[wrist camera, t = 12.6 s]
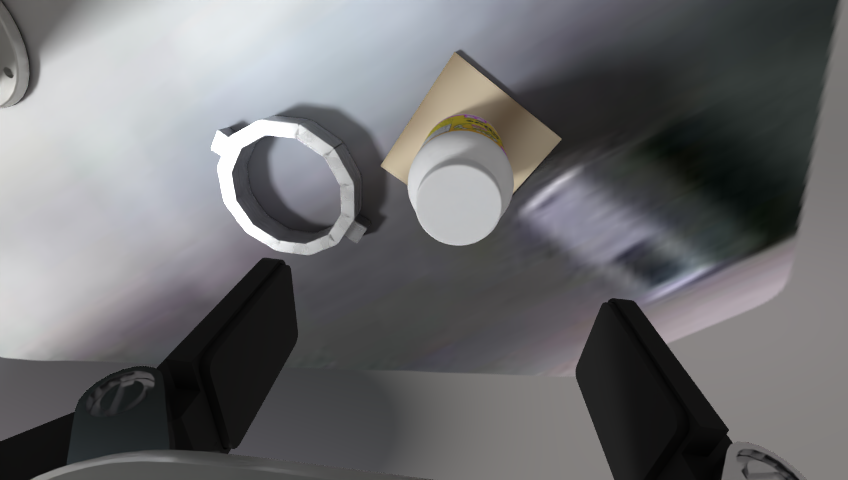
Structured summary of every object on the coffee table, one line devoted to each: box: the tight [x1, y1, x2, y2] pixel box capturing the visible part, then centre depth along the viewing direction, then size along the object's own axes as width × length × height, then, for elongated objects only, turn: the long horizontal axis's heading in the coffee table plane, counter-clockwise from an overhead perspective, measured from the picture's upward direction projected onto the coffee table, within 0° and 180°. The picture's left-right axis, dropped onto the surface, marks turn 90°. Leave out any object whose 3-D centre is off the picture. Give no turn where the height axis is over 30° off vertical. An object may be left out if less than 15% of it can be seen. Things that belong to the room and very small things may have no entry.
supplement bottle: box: [408, 114, 514, 245], centre depth 24 cm, size 7×7×13 cm
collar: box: [211, 115, 371, 255], centre depth 32 cm, size 15×12×2 cm
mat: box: [381, 52, 562, 193], centre depth 30 cm, size 11×11×1 cm
